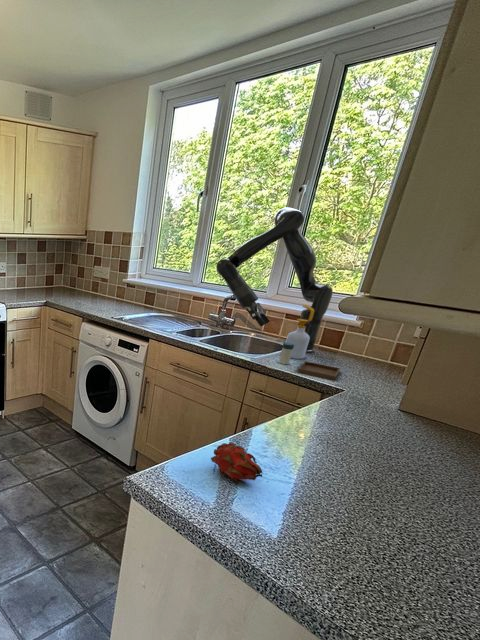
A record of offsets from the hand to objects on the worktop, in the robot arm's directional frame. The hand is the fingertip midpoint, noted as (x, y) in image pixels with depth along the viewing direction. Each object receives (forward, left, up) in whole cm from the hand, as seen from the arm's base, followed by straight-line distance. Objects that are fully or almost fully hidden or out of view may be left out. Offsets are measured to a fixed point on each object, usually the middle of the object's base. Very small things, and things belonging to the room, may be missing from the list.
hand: (265, 324), depth 187 cm
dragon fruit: (+115, +22, -16) cm, 119 cm away
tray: (+3, +25, -16) cm, 30 cm away
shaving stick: (0, +11, -16) cm, 19 cm away
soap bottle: (-16, +12, -16) cm, 26 cm away
